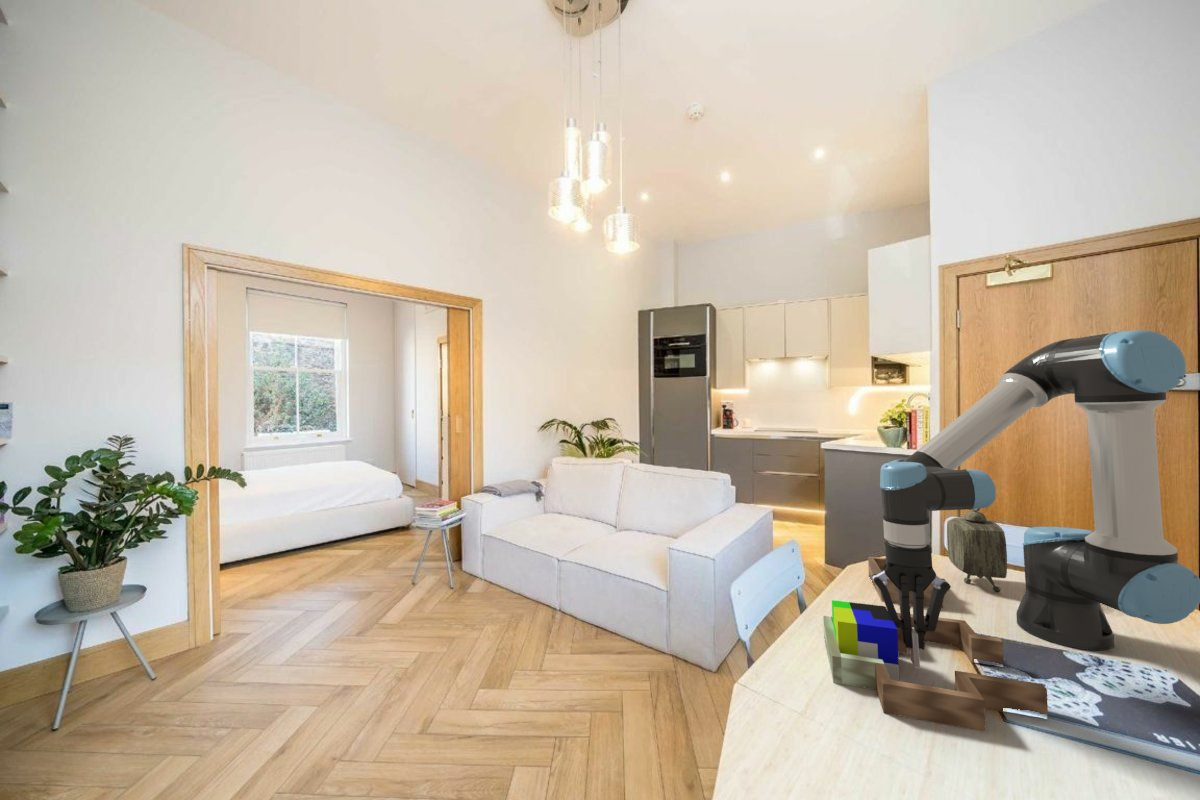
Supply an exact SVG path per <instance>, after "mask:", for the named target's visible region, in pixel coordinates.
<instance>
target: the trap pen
mask: <svg viewBox="0 0 1200 800" xmlns="http://www.w3.org/2000/svg"><path fill="white" fill-rule="evenodd" d="M896 613H897V615H898V618H899V619H900V620H901V614H900V612H897V611H896ZM910 614H911V625H912V627H913V628H914V625H913V613H910ZM925 616H926V615H924V620H925ZM925 633H926V634H925V635H924V642H927V643H933V644H941V645H948V646H956V647H960V648H961V650H962V651H963V652H964V654H965V655H966V656H967V658H968V659H969V661H970V662H971V663H972V664H975V663H974V659H979V660H983V661H989V662H995V663H999V664H1004V644H1003V640H1002V639H1001V638H999V637H995V636H987V635H979V634H977V633H976V631H974V629H973V628H972V627H971V626H970V625H969V623H968V622H966V620H963V619H955V618H946V617H939V618H938V622H937V626H936V629H935V631H933V632H932V631H927V632H925ZM897 634H898V653H901V654H908V648H907V647H906V645H905V644H904V642H903V630H902V629H901V628H897ZM823 639H825V640H824V644H825V648H826V649H825V650H826V655H827V659H828V663H829V669H830V674H831V678H832V682H833V683H835V684H840V685H845V684H847V685H846V686H851V685H853V686H852V687H857V688H864V689H869V690H874V691H876V695H877V696H878V700H879V704H880V706H881V708H882V712H883V714H888V715H895V716H897V717H898V716H900V717H904V718H909V719H914V720H920V721H925V722H931V723H936V724H941V725H947V726H951V727H957V728H962V729H969V730H973V731H977V732H978V731H979V732H983V733H984V732H985V733H986V732H987V729H986V727H987V725H986V724H987V723H986V710H989V711H990V710H991V711H995V712H1001V713H1003V712H1002V711H1003V708H1012V709H1017V710H1018V709H1020V710H1030V711H1035V712H1039V713H1040V714H1047V715H1048V716H1049V711H1048V704H1049V703H1048V689H1047V688H1046V687H1045V685H1043V683H1040V682H1039V683H1038V682H1031V681H1026V680H1019V679H1013V678H1006V677H999V676H993V675H986V674H980V673H974V672H967V671H960V670H954V689H947V688H943V687H936V686H931V685H925V684H919V683H913V682H912V683H911V682H906V681H900V680H899V681H895V680H891V679H890V677H889V674H888V672H887V669H886V667H885V664H884V662H883V660H882V659H876V658H869V657H863V656H856V655H849V654H843V653H840V651H839V647H838V643H837V639H836V635H835V631H834V627H833V622H832V616H829V615H828V616H827V615H823Z"/></svg>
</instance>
